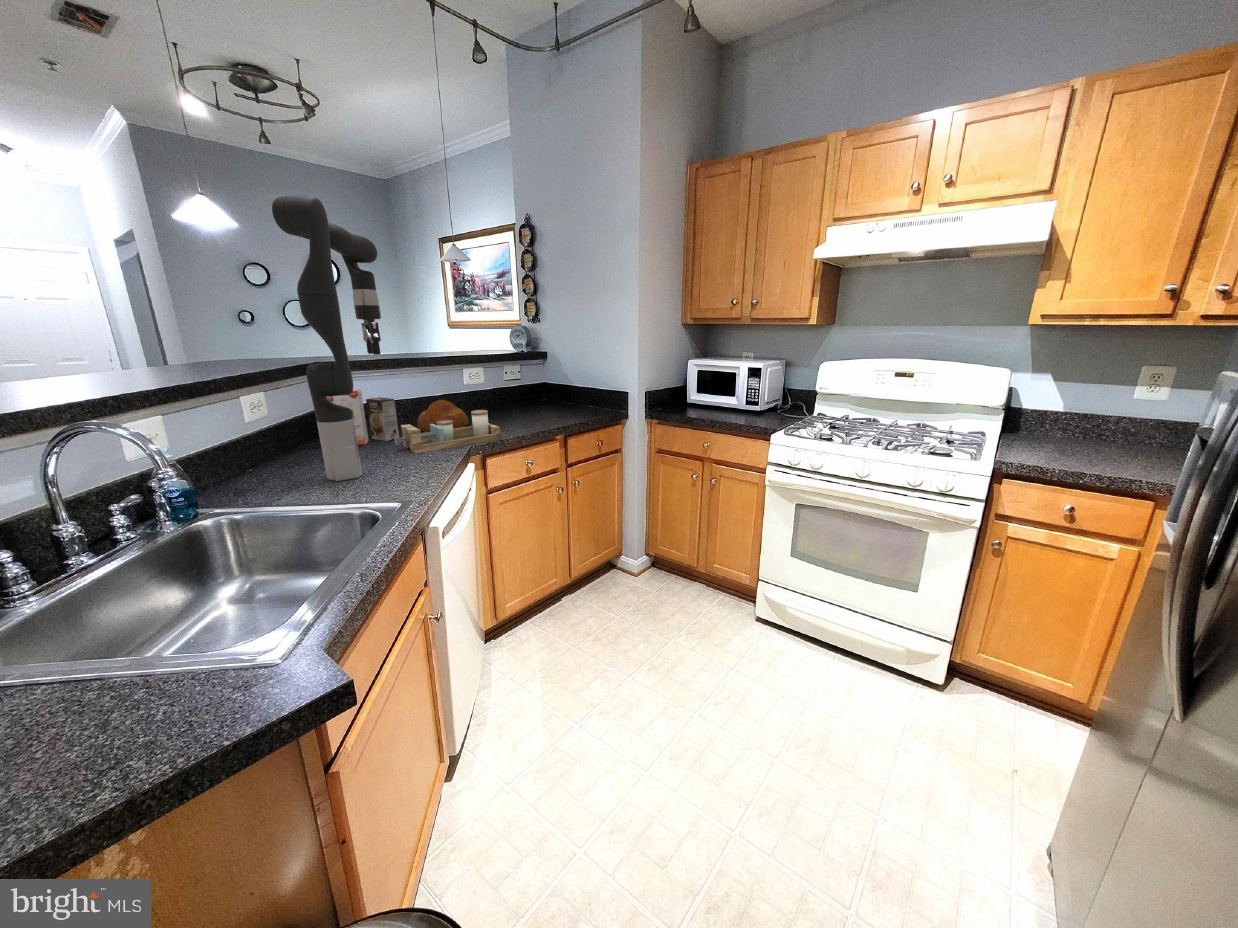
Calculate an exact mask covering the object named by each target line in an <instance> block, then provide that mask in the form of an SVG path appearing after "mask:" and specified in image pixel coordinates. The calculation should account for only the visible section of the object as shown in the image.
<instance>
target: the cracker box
mask: <svg viewBox="0 0 1238 928" xmlns="http://www.w3.org/2000/svg"><path fill="white" fill-rule="evenodd" d="M326 398H327V399H328V400H329V401H330V402H332V403H334V404H336V405H339V406H343V407H347V408H350V409H351V411H352V414H353V420H354V426H355V433H356V439H357V445H358V446H365V445H367V444H368V443H369V440H370V439H369V434H368V427H367V421H366V415H365V413H366V412H365V408H364V400H363V397H362V389H361V388H353V392H352V393H351V394H350V395H341V396H326Z"/></svg>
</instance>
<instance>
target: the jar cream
mask: <svg viewBox="0 0 1238 928" xmlns="http://www.w3.org/2000/svg"><path fill="white" fill-rule="evenodd" d="M488 413H489V412H488V410H487V409H475V410H471V412H470V415H471V421H472V426H473V434H474V436H473V437H477V436H483V435H489V425H488V423H489V417H488Z"/></svg>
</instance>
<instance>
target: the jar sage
mask: <svg viewBox="0 0 1238 928" xmlns="http://www.w3.org/2000/svg"><path fill="white" fill-rule="evenodd" d="M452 423H453V421H452V420H440V421H437V426H439V427H441V428H443V435H444V441H450V440H455V439H454V433H453V424H452Z"/></svg>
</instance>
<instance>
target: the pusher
mask: <svg viewBox="0 0 1238 928" xmlns="http://www.w3.org/2000/svg"><path fill="white" fill-rule="evenodd" d="M430 431H431V434H424V435H421V439H428V438H431V439H432V442H433V443H437V442H443V441H444V435H443V428H441V427H439V426H437V425H434V424H430ZM393 440H394V444H395V446H401V443H403V442H407V441H409V437H402V436H401V437H400V436H399V437H398V436H394V439H393Z"/></svg>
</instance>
